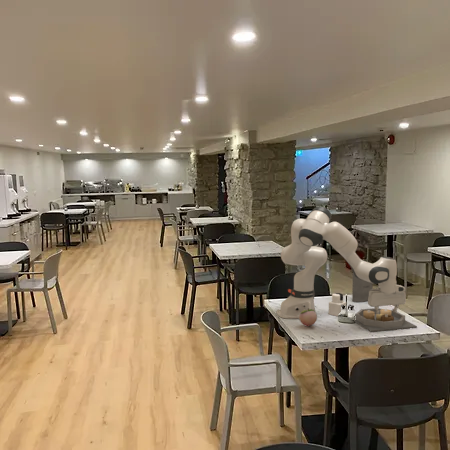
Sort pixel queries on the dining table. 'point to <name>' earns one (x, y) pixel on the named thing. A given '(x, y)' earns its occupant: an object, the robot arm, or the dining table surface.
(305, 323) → the decorative fruit
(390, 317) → the planet gear
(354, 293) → the flask
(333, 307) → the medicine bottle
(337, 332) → the dining table surface
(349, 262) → the robot arm
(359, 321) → the grey octagonal tray
